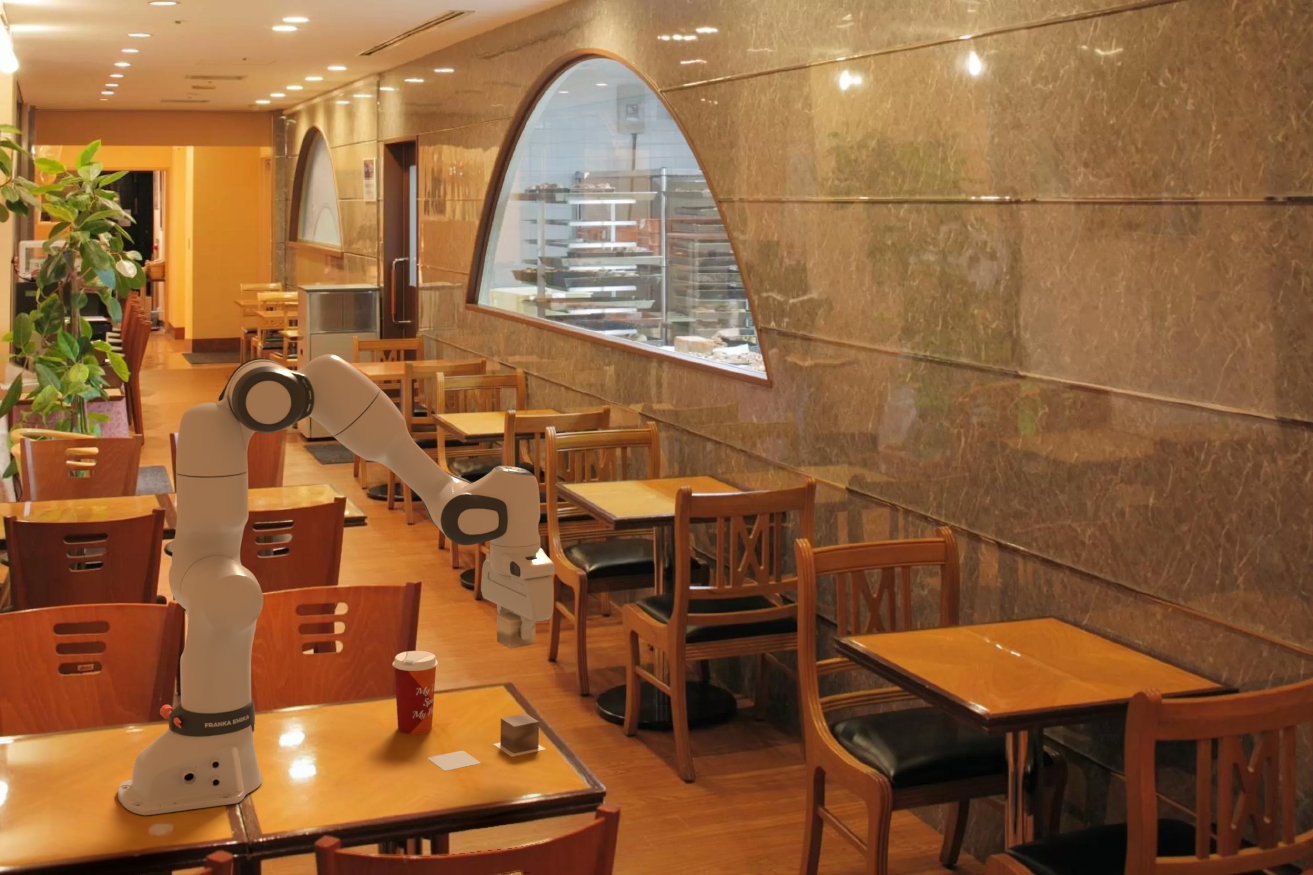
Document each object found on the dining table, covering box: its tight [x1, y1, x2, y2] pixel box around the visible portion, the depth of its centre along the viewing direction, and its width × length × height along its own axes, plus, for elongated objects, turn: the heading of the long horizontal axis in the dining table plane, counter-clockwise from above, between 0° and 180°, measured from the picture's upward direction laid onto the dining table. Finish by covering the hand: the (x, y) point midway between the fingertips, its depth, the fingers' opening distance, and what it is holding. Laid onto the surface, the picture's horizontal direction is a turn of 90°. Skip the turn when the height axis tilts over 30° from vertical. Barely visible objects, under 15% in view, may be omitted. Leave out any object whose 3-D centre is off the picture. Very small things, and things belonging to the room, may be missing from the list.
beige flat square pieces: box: [426, 742, 547, 772], centre depth 238 cm, size 22×14×1 cm, turn 125°
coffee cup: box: [392, 650, 439, 735], centre depth 249 cm, size 8×8×15 cm
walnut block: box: [499, 713, 540, 754], centre depth 241 cm, size 5×5×5 cm
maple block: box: [496, 611, 537, 650], centre depth 238 cm, size 5×5×5 cm
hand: (515, 633), depth 238 cm, fingers closed on maple block, 5 cm apart
